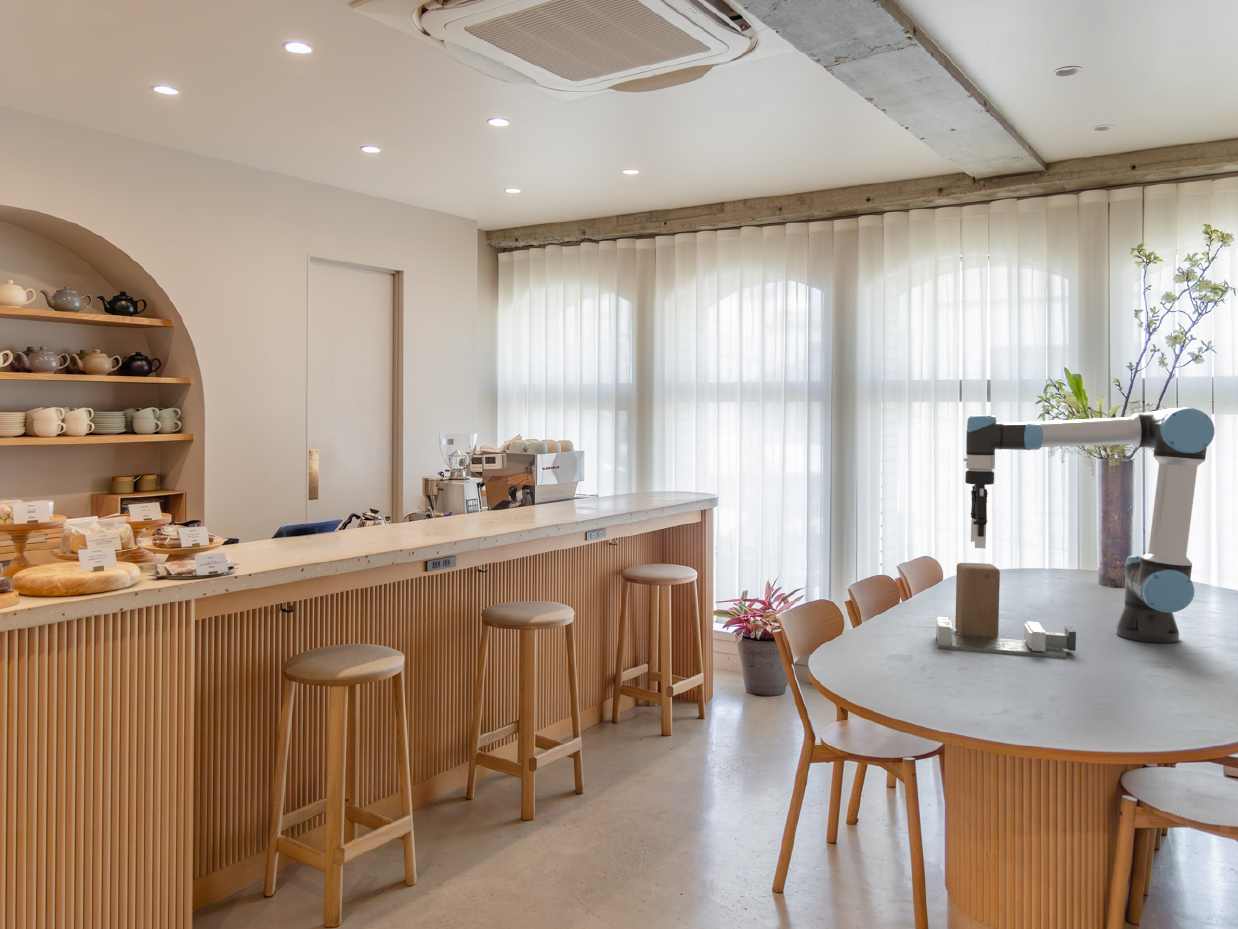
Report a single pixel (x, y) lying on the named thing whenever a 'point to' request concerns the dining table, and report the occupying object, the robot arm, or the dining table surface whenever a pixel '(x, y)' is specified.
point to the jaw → (1048, 638)
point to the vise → (987, 643)
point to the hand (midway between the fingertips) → (977, 544)
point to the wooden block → (977, 600)
